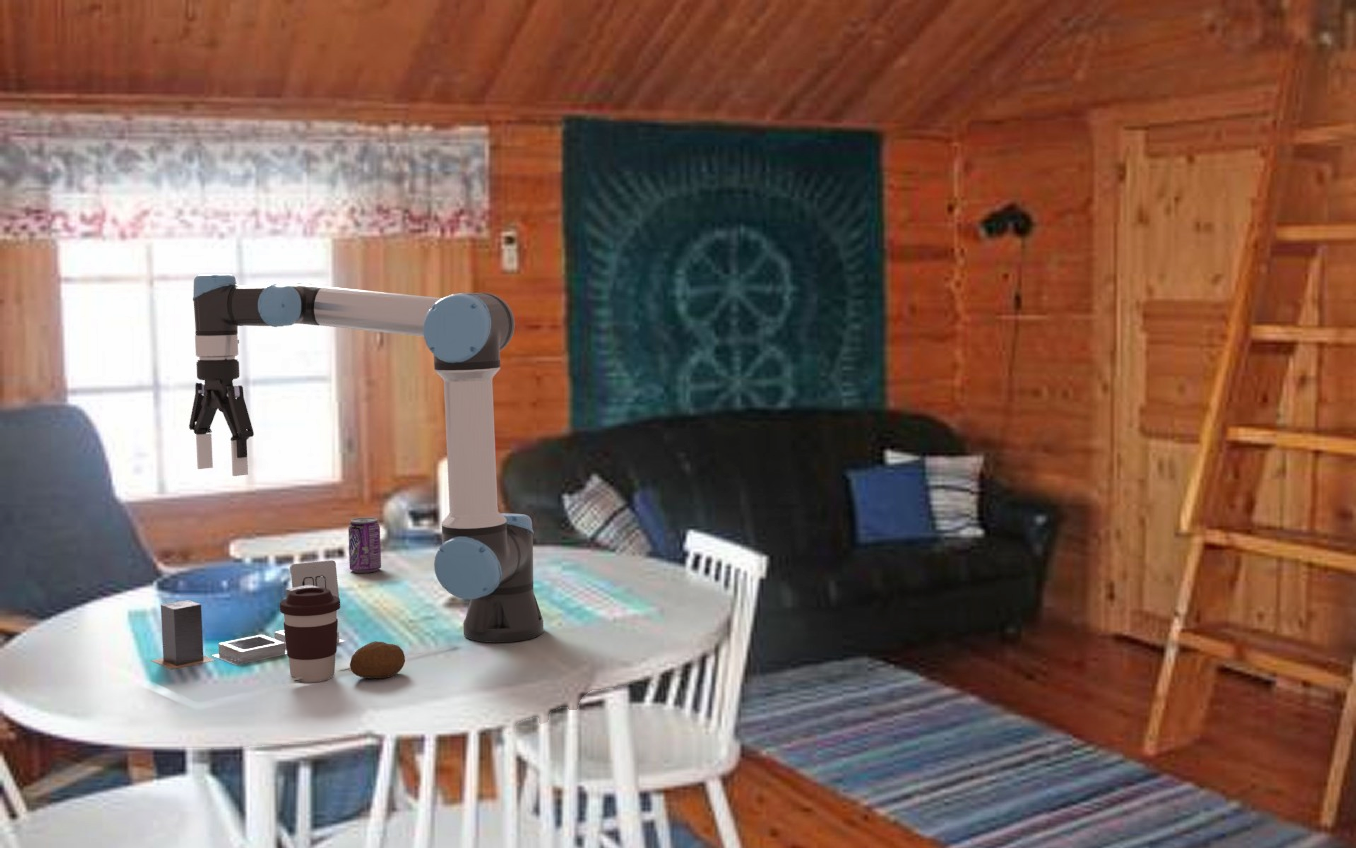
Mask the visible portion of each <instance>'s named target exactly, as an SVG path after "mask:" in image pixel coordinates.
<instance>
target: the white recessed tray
mask: <svg viewBox="0 0 1356 848" xmlns="http://www.w3.org/2000/svg"><path fill="white" fill-rule="evenodd" d="M273 634H274V638H272V637H270V636H267V635H265V634H257V635H252V636H247V637H242V638H238V639H233V640H228V641H222V642H218V653H216V654H212V655H211V657H214V658H217V659H219V660H221V661H224V662H227V663H229V664H232V665H234V666H239V665H242V664H243V665H244V664H248V663H251V662H252V663H253V662H257V661H262V660H267V659H272V658H276V657H279V656H280V657H281V656H285V655H287V650H286V641H285V632H284V629H282V630H278V631H274V633H273ZM345 642H346V640H345V639H341V638H340V631H339V630H337V644H341V643H345Z"/></svg>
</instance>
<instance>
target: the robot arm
mask: <svg viewBox="0 0 1356 848" xmlns="http://www.w3.org/2000/svg"><path fill="white" fill-rule="evenodd" d="M192 301H193V309H194V310H193V311H194V313H193V314H194V325H195V326H194V328H195V334H194V342H195V356H196V357H197V358H199V359H197V361H196V378H197V379H198V380H199V381H200V382H195V385H194V387H195V388H194V389H195V391H194V393H195V395H194V400H193V402H192V403H193V404H192V409H191V410H192V411H191V413H190V414H191V415H190V419H189V425H188V428H189V430H190V431H192V430H193V432H194V434H195V439H196V441H195V442H196V459H197V461H196V462H197V464H196V466H197V470H202V469H203V470H204V469H212V468H214V466H213V443H212V442H213V441H212V440H213V439H212V433H213V431H212V429H211V426H212V424H213V421H214V418H215V416H216V413H217V411H219V412H222V415H223V417H224V419H225V421H226V424H227V426H228V428H229V431H230V433H231V437H230V447H231V449H230V451H231V471H232V472H231V473H232V474H231V475H232V476H233V477H237V476H238V477H239V476H247V475H249V465H248V463H249V462H248V461H249V460H248V441H247V440H249V438H252V437H254V435H255V433H254V428H253V426H252V425H253V424H252V422H251V419H250V414H249V411H248V407H247V404H246V400H245V396H244V387H243V385H234V382H233V381H234V380H237V379H239V378H240V361H239V360H238V358H236V357H237V356H238V355H239V344H240V339H238V337H239V336H238V334H239V333H238V331H239V330H238V326H239V327H243V326H249V327H274V328H277V327H288V326H292V325H297V324H299V325H300V324H301V325H310V326H318V327H319V326H321V327H322V326H323V327H333V328H339V329H340V328H341V329H348V330H350V329H351V330H359V331H368V332H377V333H385V334H387V333H388V334H396V335H402V336H403V335H405V336H414V337H415V336H416V337H423V339H424V342H425V343H424V344H425V345H426V347H427V348H428V351H429V350H430V352H431V353H432V354H433V363H434V364H433V365H434V366H433V368H434V372H435V373H436V374H437V375H438V376H439V377H440V378H441V379H442V380H443V393H444V395H443V396H444V415H445V416H444V417H445V435H446V439H445V441H446V459H447V461H446V462H447V479H448V480H447V483H448V485H447V486H448V503H449V504H448V505H449V507H448V508H449V513H448V515H447V516H446V517H445V518H444V519H443V520H442V521H441V541H442V543H441V545H440V547H439V548H438V549H437V552H436V553H435V556H434V562H433V567H434V569H433V570H434V573H435V576H436V578H437V579H436V580H437V581H438V582H439V584H440V585H441V587H442V588H443V589H444V590H445V591H447V592H448V593H449V594H450V595H452V596H454V597H456V598H459V599H463V600H469V604H468V607H467V612H466V615H465V619H464V621H463V635H464V637H465V638H466V639H469V640H472V641H475V642H476V641H477V642H485V643H513V642H514V643H515V642H520V641H526V640H530V639H534V638H537V637H539V636H541V635H543V633H544V618H543V615H542V614H541V610H540V607H539V604H538V601H537V599H536V596H535V592H534V589H535V588H534V545H533V544H534V540H533V539H534V538H533V537H534V533H535V532H534V530H533V522H532V518H531V517H530V516H529V515H527V514H521V513H507V512H506V513H505V512H504V513H501V512H500V511H499V508H498V504H499V503H498V489H497V487H498V485H497V484H498V483H497V481H498V480H497V463H496V462H497V461H496V436H495V418H494V417H495V414H494V413H495V412H494V411H495V410H494V391H493V390H494V389H493V388H494V387H493V386H494V385H493V378H494V377H495V375H496V374H497V373H498V372H499V371H500V370H501V351H502V350H505V348H506V347H507V346H508V345H509V343H510V342H511V340H512V338H513V336H514V333H515V329H516V328H515V327H516V325H515V323H516V322H515V316H514V313H513V311H512V309H511V307H510V306H509V305H508V303H507V302H506V301H505V300H504V299H503V298H501V297H499V296H498V295H495V294H494V293H489V292H470V293H466V292H460V293H451V294H450V295H447V296H444V297H434V296H423V295H413V294H405V293H394V292H382V291H374V290H365V289H364V290H363V289H353V288H342V287H332V286H320V285H314V284H312V283H304V282H303V283H302V282H301V283H294V284H293V283H292V284H281V283H278V284H276V283H274V284H250V285H249V284H247V285H246V284H245V285H242V284H237V281H236V277H235V275H234V274H198V275H196V276H195V277H194V279H193V297H192ZM201 381H202V382H201Z"/></svg>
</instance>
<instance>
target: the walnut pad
mask: <svg viewBox="0 0 1356 848" xmlns="http://www.w3.org/2000/svg"><path fill="white" fill-rule="evenodd" d="M203 658H204V660H202V661H198V662H193V663H188V664H183V665H179V666H175V665H173V664H171V663H168V662H166V661H163V658H158V659H157V658H156V659H153V660H151V662H152V663H155V664H157V665H160V666H162V667H165V668H167V669H169V670H177V669H182V668H186V667H190V666H196V665H200V664H205V663H210V662H215V661H216V660H215V659H213V658H211V657H210V656H209V657H208V656H206V655H204V654H203Z"/></svg>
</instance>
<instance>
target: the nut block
mask: <svg viewBox="0 0 1356 848" xmlns="http://www.w3.org/2000/svg"><path fill="white" fill-rule="evenodd" d="M160 616H161V619H160V620H161V636H162V637H161V640H162V657H163V661H166V662H168V663H171V664H173V665H175V666H179V665H183V664H188V663H193V662H198V661H202V660H204V658H203V655H204V640H203V637H204V636H203V620H202V619H203V617H202V604H200V603H199V602H195V601H192V600H190V599H186V600H178V601H174V602H169V603H163V604H160Z"/></svg>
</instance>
